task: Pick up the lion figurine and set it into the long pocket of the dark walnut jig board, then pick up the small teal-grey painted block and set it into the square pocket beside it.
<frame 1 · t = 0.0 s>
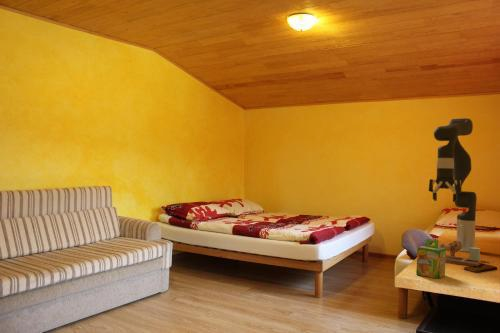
hand: (444, 201, 204), 29 cm above the table, tool pointing down, fingers open, 8 cm apart
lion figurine: (449, 256, 220), on the table
jig board: (454, 261, 206), on the table
chalk box: (430, 275, 176), on the table
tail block: (474, 260, 211), on the table
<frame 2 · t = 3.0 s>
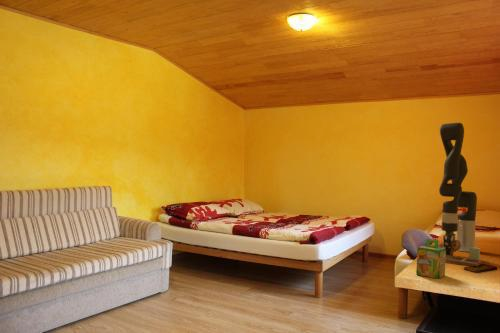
hand: (449, 254, 219), 1 cm above the table, tool pointing down, fingers closed on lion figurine, 5 cm apart
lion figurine: (447, 256, 221), on the table, touching gripper
everything else where it was.
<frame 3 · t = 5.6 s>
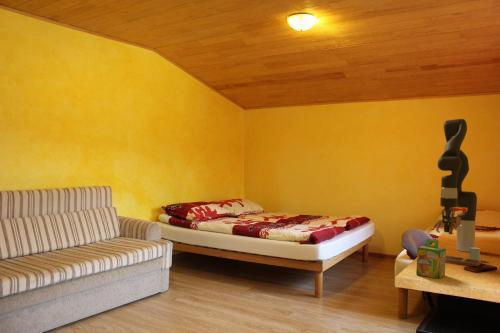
hand: (448, 231, 208), 14 cm above the table, tool pointing down, fingers closed on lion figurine, 5 cm apart
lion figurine: (446, 233, 209), point 13 cm above the table, touching gripper
everything else where it was.
when the fingers open (3 cm above the table, at t = 8.0 s): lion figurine drops 1 cm, resting on jig board.
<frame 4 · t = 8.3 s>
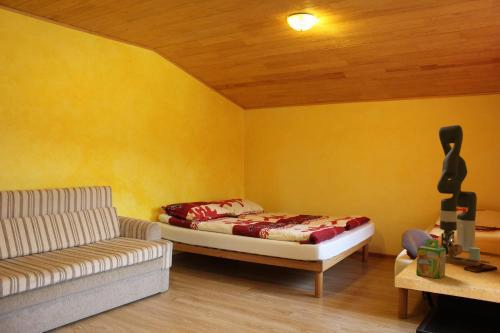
hand: (447, 253, 208), 4 cm above the table, tool pointing down, fingers open, 8 cm apart
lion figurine: (445, 259, 209), resting on jig board
everything else where it was.
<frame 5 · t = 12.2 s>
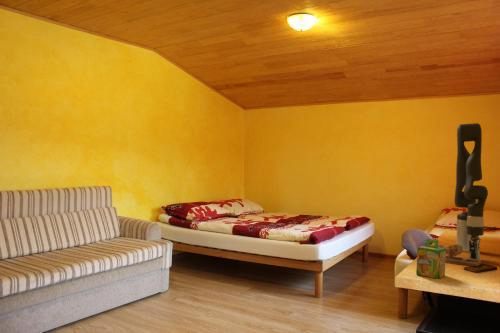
hand: (474, 259, 211), 0 cm above the table, tool pointing down, fingers closed on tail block, 4 cm apart
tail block: (474, 260, 211), on the table, touching gripper
everything else where it was.
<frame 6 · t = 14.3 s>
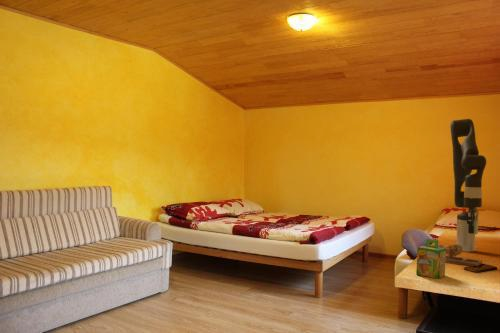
hand: (472, 232, 201), 15 cm above the table, tool pointing down, fingers closed on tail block, 4 cm apart
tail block: (472, 233, 201), point 15 cm above the table, touching gripper
everything else where it was.
when the fingers open (2 cm above the table, at t = 16.9 s): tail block drops 1 cm, resting in jig board.
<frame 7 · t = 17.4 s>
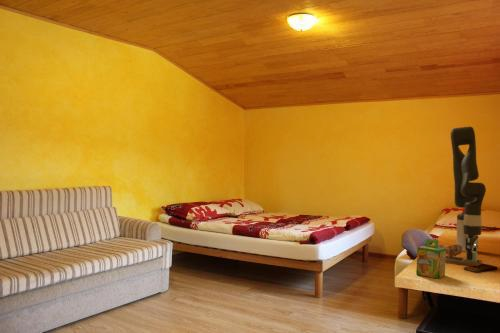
hand: (471, 258, 201), 3 cm above the table, tool pointing down, fingers open, 8 cm apart
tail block: (471, 264, 201), resting in jig board
everything else where it was.
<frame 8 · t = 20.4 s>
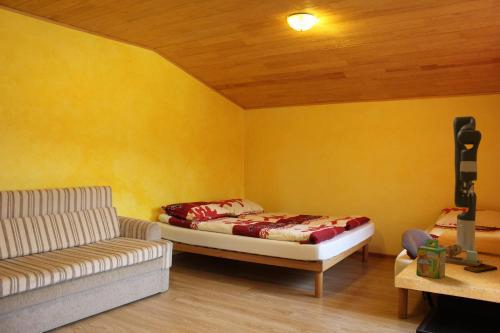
hand: (467, 203, 208), 28 cm above the table, tool pointing down, fingers open, 8 cm apart
nothing on the table moved.
at the end: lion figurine inside the target area on the jig board (1.3 cm from its centre), point 0.3 cm above the jig board's base; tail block 0.3 cm from the target spot on the jig board, point 0.0 cm above the jig board's base; the gripper is holding nothing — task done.
